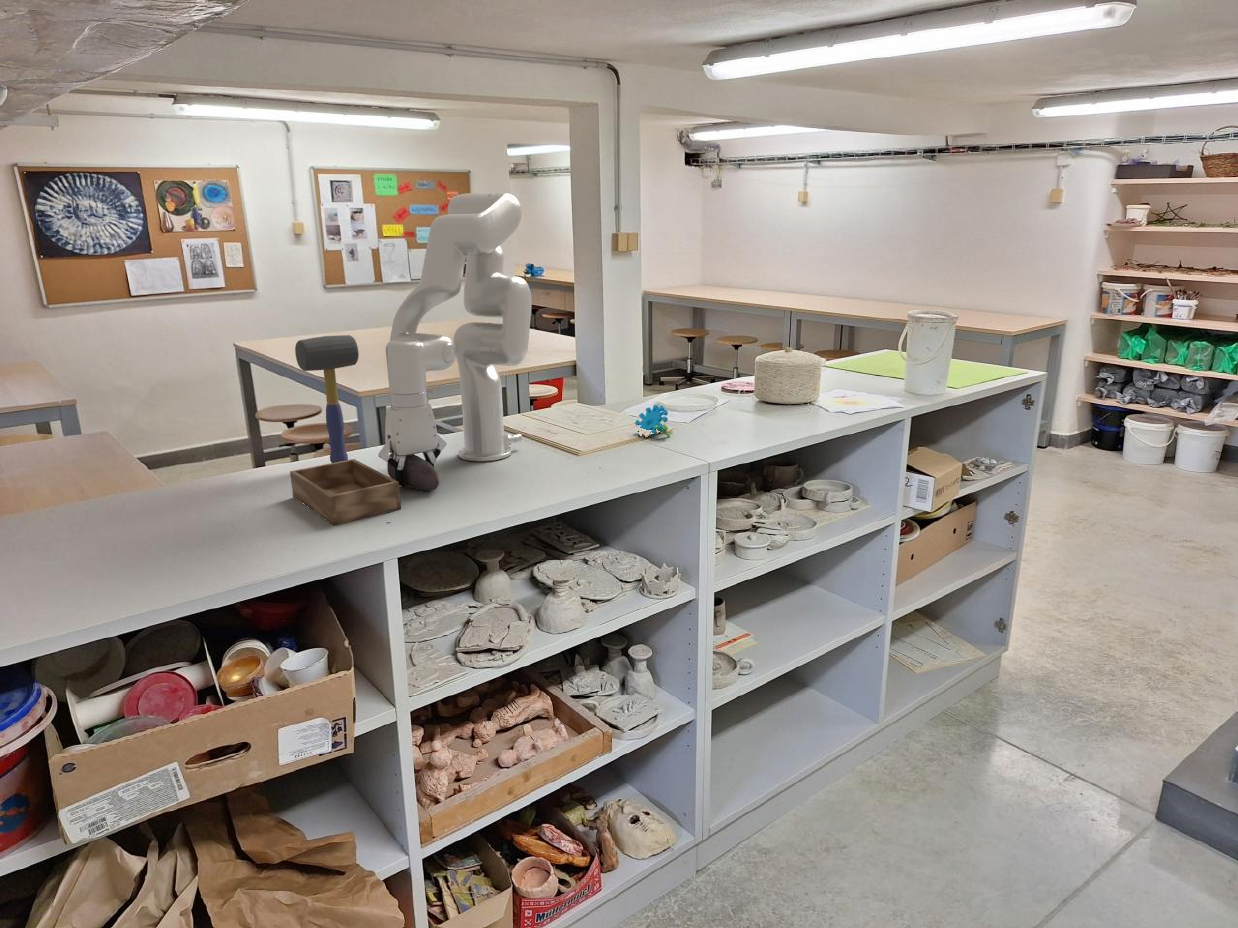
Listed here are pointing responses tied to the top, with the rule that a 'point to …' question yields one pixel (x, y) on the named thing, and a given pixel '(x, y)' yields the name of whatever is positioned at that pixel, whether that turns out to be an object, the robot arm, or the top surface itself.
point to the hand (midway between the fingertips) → (415, 482)
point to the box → (345, 491)
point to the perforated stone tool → (417, 473)
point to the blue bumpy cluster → (654, 420)
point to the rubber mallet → (329, 379)
